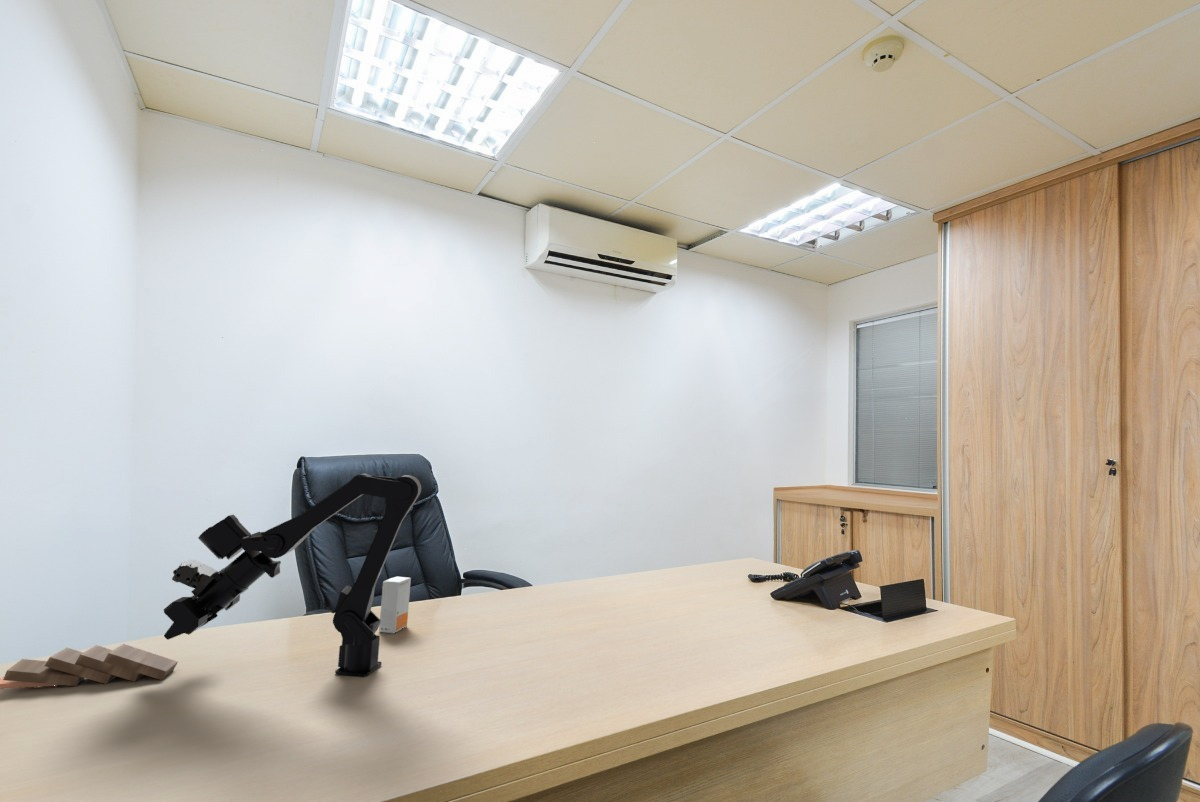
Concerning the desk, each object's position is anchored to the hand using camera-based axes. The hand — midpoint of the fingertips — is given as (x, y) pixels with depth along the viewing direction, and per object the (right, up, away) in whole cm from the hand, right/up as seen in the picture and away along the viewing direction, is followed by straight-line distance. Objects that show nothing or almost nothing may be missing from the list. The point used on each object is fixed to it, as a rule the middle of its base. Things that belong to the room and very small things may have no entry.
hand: (166, 637), depth 105 cm
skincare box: (+31, -12, +32) cm, 46 cm away
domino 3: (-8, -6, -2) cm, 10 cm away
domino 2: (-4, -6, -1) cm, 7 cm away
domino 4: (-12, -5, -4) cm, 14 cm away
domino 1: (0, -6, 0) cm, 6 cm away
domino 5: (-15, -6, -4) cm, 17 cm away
